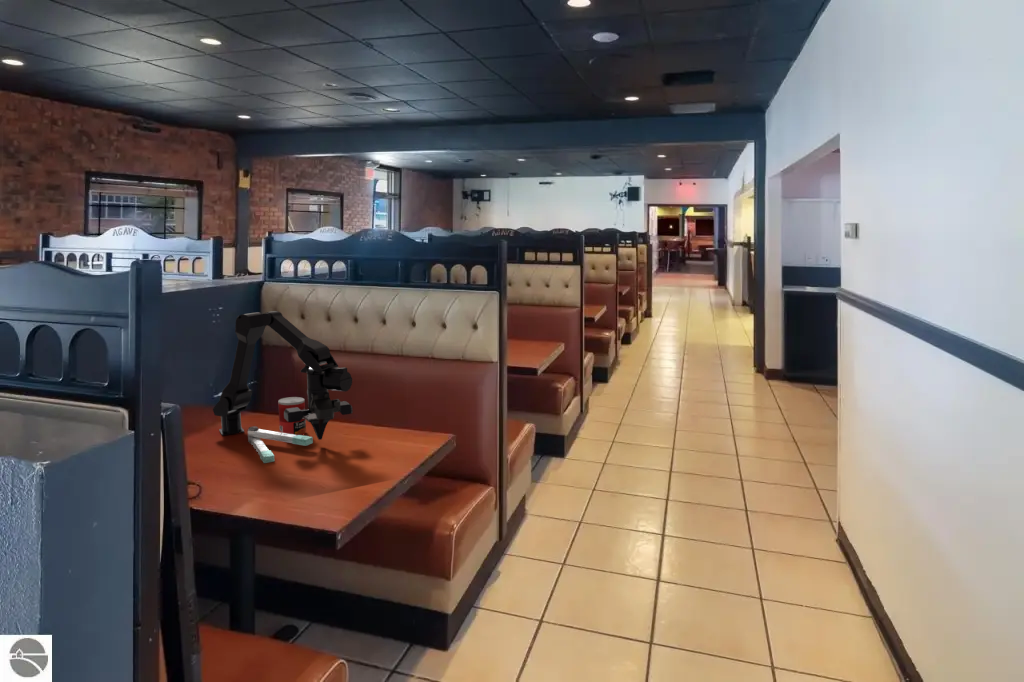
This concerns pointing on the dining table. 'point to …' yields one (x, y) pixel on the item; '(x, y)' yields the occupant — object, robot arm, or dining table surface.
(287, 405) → the canned food
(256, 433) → the tong arm
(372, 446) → the dining table surface
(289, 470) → the dining table surface
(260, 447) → the tongs lower
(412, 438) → the dining table surface
